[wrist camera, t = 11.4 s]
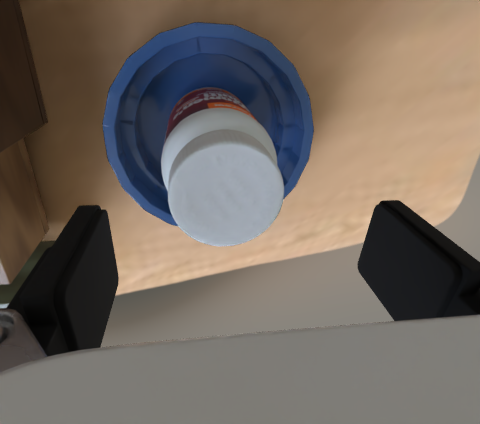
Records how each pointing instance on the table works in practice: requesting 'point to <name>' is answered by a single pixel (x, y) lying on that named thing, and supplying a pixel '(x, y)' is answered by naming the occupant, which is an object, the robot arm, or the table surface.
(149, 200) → the bowl
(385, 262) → the robot arm
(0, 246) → the drawer
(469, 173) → the table surface
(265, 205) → the pill bottle
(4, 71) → the cabinet
